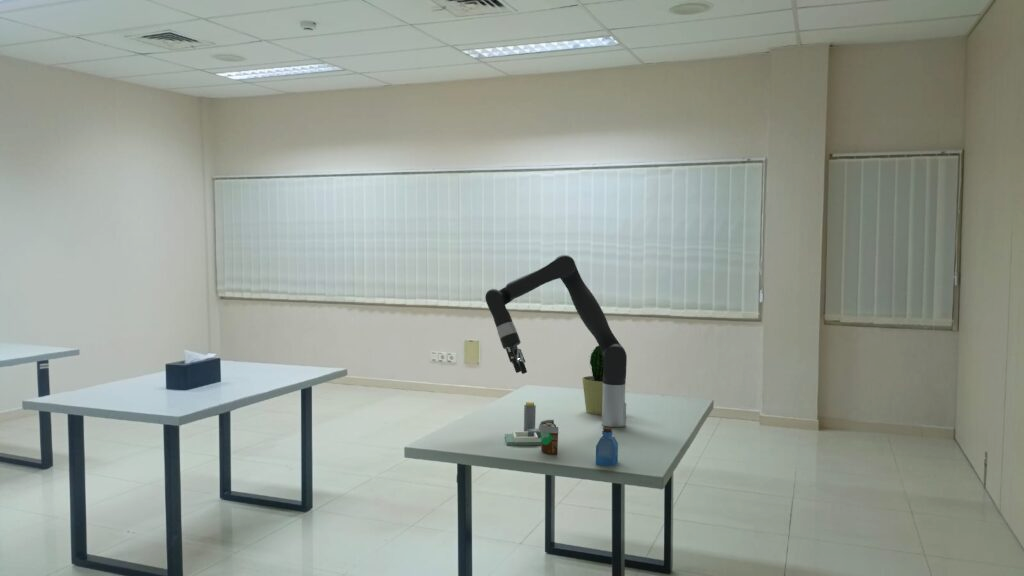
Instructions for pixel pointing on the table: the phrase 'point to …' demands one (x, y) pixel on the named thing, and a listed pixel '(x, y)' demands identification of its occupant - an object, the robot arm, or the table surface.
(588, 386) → the potted cactus
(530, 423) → the plug
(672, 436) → the table surface
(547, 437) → the food container
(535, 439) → the board
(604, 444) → the perfume bottle
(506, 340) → the robot arm
